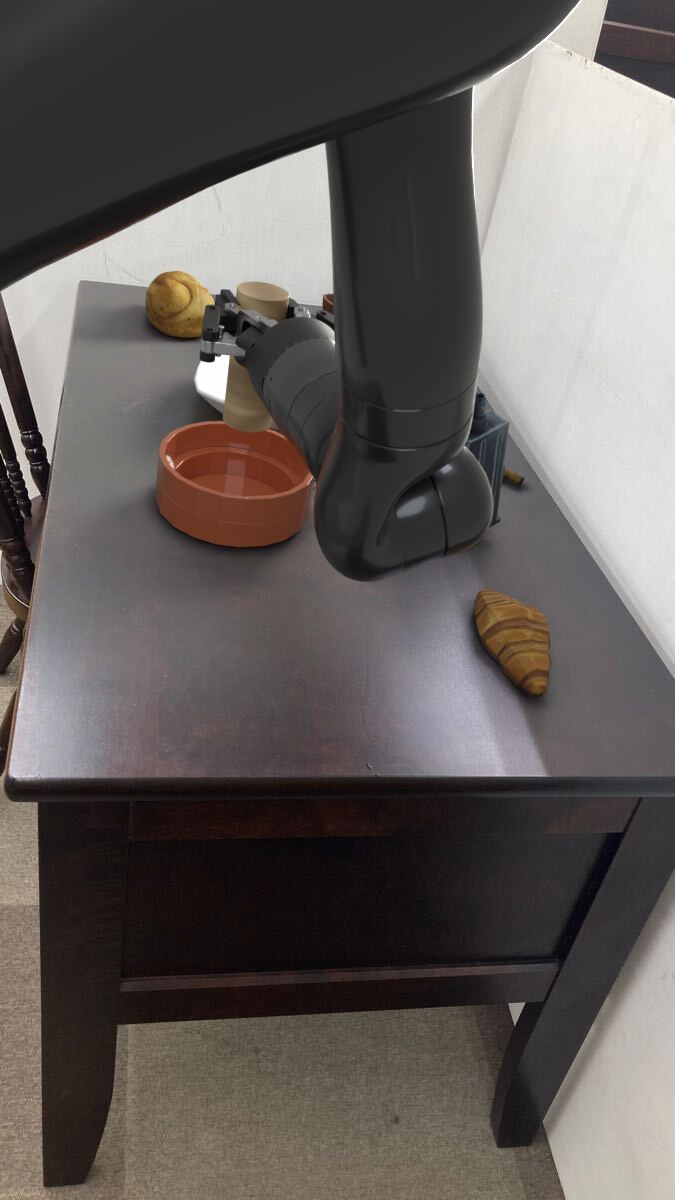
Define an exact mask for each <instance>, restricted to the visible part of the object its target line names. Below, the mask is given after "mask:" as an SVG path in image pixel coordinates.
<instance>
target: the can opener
mask: <svg viewBox="0 0 675 1200" xmlns="http://www.w3.org/2000/svg"><path fill="white" fill-rule="evenodd" d="M502 479H504V480H506V481H509V482H510V483H513V484H516V485H519V486H522V484H524V483H523V482H524V481H525V476H522V475H521V474H519V473H517V472H515V471H512V470H511V469H508V468H505V473H504V475H502Z"/></svg>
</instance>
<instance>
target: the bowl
mask: <svg viewBox="0 0 675 1200" xmlns="http://www.w3.org/2000/svg"><path fill="white" fill-rule="evenodd" d="M228 365H229V356H228V355H221V357H216V356H215V361H214V362H212V363H207V362H203V361H201V360H200V362H199V364H198V366H197V368H196V370H195V375H194V379H193V382H194V385H195V386H194V387H195V388H196V392H197V393H198V394H199V395H200V396H201V397H202V398H203V399H204V400H205V401H207V403H208V404H210V405H211V406H212V407H213V408H214V409H215V410H217V411H218V412H219V413H220V414H221V415H222V416H223V411H224V402H225V393H226V383H227V374H228ZM268 429H270V430H273V431H276V432H278V433H280V434H282V433H281V431H280V430H279V429H278V427H277V425H276V424H275V422H274V420H273V419H272V420H271V426H270V427H269V428H268ZM282 435H283V434H282Z"/></svg>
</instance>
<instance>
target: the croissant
mask: <svg viewBox="0 0 675 1200" xmlns="http://www.w3.org/2000/svg"><path fill="white" fill-rule="evenodd" d="M473 605H474V606H473V615H474V619H475V623H476V627H477V631H478V634H479V637H480V641H481V643H482V646H483V649H484V650H485V651H486V652H487V654H488V655H489V656H490V657H491V659H492V660H493V661H494V662H495V663H496V664H497V665H498V666H499V667H500V669H501V672H502V673H503V675H504V676H505V677H506V678H507V679H508V680H509V681H510V682H511V683H512V685H514V686H515V688H517V689H518V690H519V691H521V692H522V693H523V694H524V695H526V696H527V697H528V698H534V699H536V698H540V697H543V696H544V695H545V693H546V692H547V689H548V684H549V680H550V674H551V668H552V658H551V653H550V652H551V651H550V650H551V647H552V646H551V634H550V633H551V632H550V628H549V624H548V621H547V618H546V616H545V615H544V614H543V613H541V612H540V611H539V610H538V609H537V608H536V607H534V606H529V605H527V604H523V603H522V602H521V601H519V600H517V599H515V598H513V597H511V596H509V595H507V594H506V593H502V592H499V591H497V590H496V591H495V590H492V589H487V588H484V589H481V590H479V591H478V593H477V594H476V596H475V599H474V604H473Z"/></svg>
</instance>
